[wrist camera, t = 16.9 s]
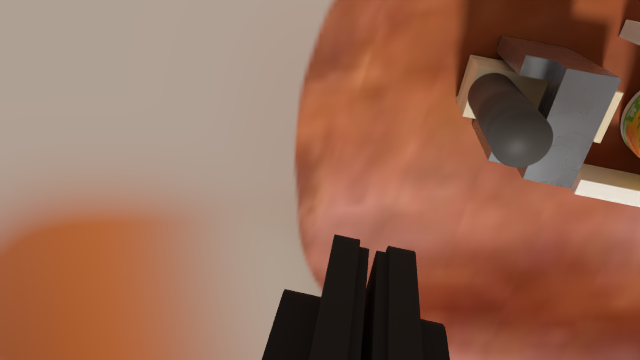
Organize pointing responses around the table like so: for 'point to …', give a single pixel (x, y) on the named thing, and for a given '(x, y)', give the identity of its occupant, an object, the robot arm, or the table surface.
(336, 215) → the table surface
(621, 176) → the frame
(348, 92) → the table surface
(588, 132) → the guide block
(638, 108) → the supplement bottle
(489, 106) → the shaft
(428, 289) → the table surface
